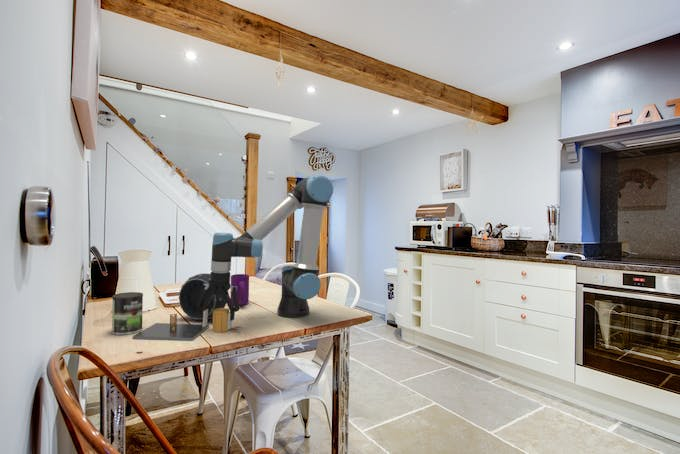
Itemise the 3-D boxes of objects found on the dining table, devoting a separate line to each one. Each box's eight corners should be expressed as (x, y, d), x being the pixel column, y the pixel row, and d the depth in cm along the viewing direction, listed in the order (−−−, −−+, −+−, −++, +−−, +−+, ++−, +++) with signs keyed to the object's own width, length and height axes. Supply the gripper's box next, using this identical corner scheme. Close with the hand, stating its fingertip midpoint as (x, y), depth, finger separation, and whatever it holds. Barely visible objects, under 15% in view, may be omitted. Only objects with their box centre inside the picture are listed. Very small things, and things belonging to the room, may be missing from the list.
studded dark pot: (217, 324, 147) (218, 277, 147) (175, 320, 151) (175, 274, 151) (230, 317, 158) (231, 273, 157) (190, 314, 162) (191, 270, 161)
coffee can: (148, 329, 138) (148, 294, 138) (120, 336, 130) (120, 299, 129) (134, 325, 144) (134, 290, 144) (106, 331, 135) (106, 295, 135)
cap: (230, 327, 143) (231, 308, 143) (225, 332, 137) (226, 312, 137) (216, 327, 144) (216, 307, 143) (210, 332, 138) (210, 311, 137)
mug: (247, 301, 188) (247, 273, 188) (252, 308, 174) (252, 278, 174) (229, 302, 185) (229, 274, 184) (233, 310, 170) (233, 279, 170)
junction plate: (209, 327, 144) (209, 310, 143) (192, 340, 128) (192, 321, 127) (156, 325, 144) (156, 308, 144) (132, 338, 128) (132, 319, 128)
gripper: (250, 272, 144) (246, 326, 144) (197, 268, 144) (193, 322, 144) (245, 275, 136) (241, 332, 137) (189, 270, 136) (185, 328, 137)
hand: (217, 327), depth 140 cm, fingers open, 9 cm apart
